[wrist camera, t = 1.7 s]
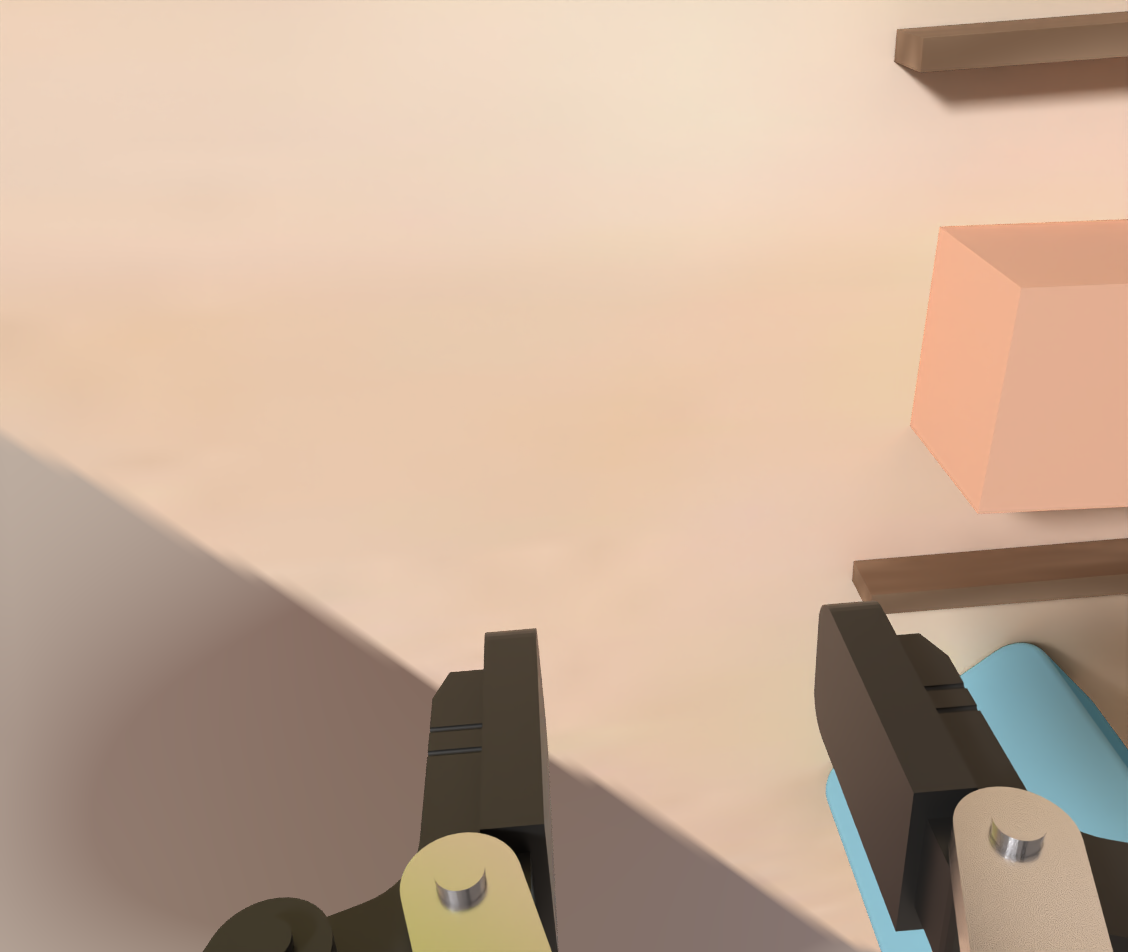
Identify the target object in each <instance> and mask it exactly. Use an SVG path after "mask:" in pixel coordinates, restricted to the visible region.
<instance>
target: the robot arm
mask: <svg viewBox="0 0 1128 952" xmlns="http://www.w3.org/2000/svg"><path fill="white" fill-rule="evenodd" d="M814 697H815V709H816V716H817V721H818V726H819V730H820V733H821V736H822V739H823V742H824V744H825V747H826V749H827V752H828V755H829V757H830V760H831V763H832V765H833V768H834V771H835V773H836V776H837V778H838V781H839V784H840V786H841V789H842V792H843V794H844V797H845V799H846V802H847V805H848V807H849V810H850V813H851V815H852V818H853V821H854V823H855V826H856V828H857V831H858V834H859V836H860V839H861V842H862V844H863V847H864V850H865V852H866V855H867V857H868V860H869V863H870V865H871V868H872V871H873V873H874V876H875V879H876V881H877V884H878V886H879V889H880V892H881V894H882V897H883V900H884V902H885V905H886V908H887V910H888V913H889V915H890V918H891V921H892V923H893V926H894V929H895V931H896V932H898V931H909V930H920V929H924V932H925V934H926V936H927V939H928V941H929V944H930V946H931V949H932V952H1128V843H1127V842H1121V841H1115V840H1110V839H1105V838H1100V837H1096V836H1093V835H1090V834H1087V833H1084V832H1081V831H1080V830H1079V829H1078V827H1077V825H1076V824H1075V822H1074V821H1073V820H1072V819H1071V818H1070V816H1069V815H1068V814H1067V813H1065V812H1064V811H1063V810H1062V809H1061V808H1060V807H1058V806H1057V805H1055V804H1054V803H1052V802H1051V801H1049V800H1047V799H1045V798H1044V797H1042V796H1039V795H1037V794H1034V793H1032V792H1029V791H1027V789H1026V788H1025V786H1024V784H1023V782H1022V781H1021V779H1020V777H1019V776H1018V774H1017V772H1016V771H1015V769H1014V767H1013V765H1012V764H1011V762H1010V760H1009V759H1008V757H1007V755H1006V754H1005V752H1004V750H1003V748H1002V747H1001V745H1000V743H999V742H998V740H997V738H996V737H995V735H994V733H993V731H992V730H991V728H990V726H989V725H988V723H987V721H986V719H985V718H984V716H983V714H982V713H981V711H980V710H979V711H978V710H977V704H976V702H975V701H974V699H973V697H972V696H971V694H970V692H969V691H968V689H967V688H965V687H964V682H963V680H962V679H961V677H960V675H959V674H958V672H957V670H956V668H955V667H954V665H953V663H952V662H951V660H950V658H949V656H948V655H946V654H945V653H944V652H943V651H941V650H940V649H939V648H937V647H936V646H935V645H934V644H932V643H931V642H930V641H928V640H927V639H926V638H925V637H923V636H922V635H921V634H919V633H917V634H906V635H896V633H895V631H894V629H893V627H892V626H891V624H890V622H889V620H888V618H887V616H886V614H885V612H884V611H883V609H882V607H881V605H880V604H879V603H878V602H877V601H863V602H851V603H839V604H827V605H823V606H822V607H821V610H820V614H819V625H818V640H817V656H816V672H815V689H814ZM203 952H558V936H557V917H556V898H555V878H554V858H553V839H552V819H551V800H550V781H549V761H548V745H547V731H546V719H545V708H544V698H543V688H542V678H541V668H540V658H539V648H538V638H537V630H536V628H535V629H523V630H511V631H499V632H487V633H485V643H484V670H472V671H460V672H450V673H449V675H448V676H447V678H446V679H445V681H444V682H443V684H442V685H441V687H440V688H439V690H438V691H437V693H436V694H435V696H434V697H433V700H432V711H431V722H430V734H429V744H428V757H427V767H426V778H425V790H424V800H423V811H422V823H421V833H420V843H419V848H418V852H417V854H416V855H415V856H414V857H413V858H412V859H411V861H410V862H409V863H408V865H407V867H406V869H405V870H404V872H403V875H402V878H401V879H400V880H399V881H398V882H397V883H396V884H395V885H394V886H393V887H391V888H390V889H389V890H387V891H386V892H385V893H383V894H381V895H379V896H378V897H376V898H374V899H372V900H370V901H367V902H365V903H363V904H360V905H358V906H355V907H352V908H350V909H347V910H344V911H342V912H339V913H336V914H334V915H331V916H328V917H326V915H325V914H324V913H323V911H321V910H320V909H319V908H318V907H317V906H315V905H314V904H311V903H310V902H308V901H305V900H301V899H297V898H289V897H288V898H274V899H269V900H265V901H262V902H258V903H256V904H253V905H251V906H249V907H247V908H245V909H243V910H242V911H240V912H238V913H237V914H235V915H234V916H233V917H232V918H230V919H229V920H228V921H226V923H225V924H223V925H222V926H221V927H220V929H218V931H217V932H216V933H215V935H214V936H213V937H212V939H211V940H210V942H209V943H208V945H207V946H206V948H205V949H204V951H203Z"/></svg>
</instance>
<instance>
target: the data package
mask: <svg viewBox="0 0 1128 952" xmlns="http://www.w3.org/2000/svg"><path fill="white" fill-rule="evenodd" d="M960 677H961V679H962V680H963V682H964V687H965V688H967V689H968V691H969V692H970V694H971V696H972V697H973V699H974V701H975V702H976V704H977V710H978V711H979V710H980V711H981V713H982V714H983V716H984V718H985V719H986V721H987V723H988V725H989V726H990V728H991V730H992V731H993V733H994V735H995V737H996V738H997V740H998V742H999V743H1000V745H1001V747H1002V748H1003V750H1004V752H1005V754H1006V755H1007V757H1008V759H1009V760H1010V762H1011V764H1012V765H1013V767H1014V769H1015V771H1016V772H1017V774H1018V776H1019V777H1020V779H1021V781H1022V782H1023V784H1024V786H1025V788H1026V789H1027V791H1029V792H1032V793H1034V794H1037V795H1039V796H1042V797H1044V798H1045V799H1047V800H1049V801H1051V802H1052V803H1054V804H1055V805H1057V806H1058V807H1060V808H1061V809H1062V810H1063V811H1064V812H1065V813H1067V814H1068V815H1069V816H1070V818H1071V819H1072V820H1073V821H1074V822H1075V824H1076V825H1077V827H1078V829H1079V830H1080V831H1081V832H1084V833H1087V834H1090V835H1093V836H1096V837H1100V838H1105V839H1110V840H1115V841H1121V842H1127V843H1128V749H1127V748H1126V746H1125V745H1124V744H1123V742H1122V741H1121V740H1120V738H1119V737H1118V736H1117V734H1116V733H1115V731H1114V730H1113V729H1112V727H1111V726H1110V725H1109V723H1108V722H1107V721H1106V719H1105V718H1104V716H1103V715H1102V714H1101V712H1100V711H1099V710H1098V708H1097V707H1096V705H1095V704H1094V703H1093V702H1092V700H1091V699H1090V698H1089V697H1088V696H1087V695H1086V694H1085V693H1084V692H1083V691H1082V690H1081V689H1080V688H1079V687H1078V686H1077V685H1076V684H1075V683H1074V682H1073V681H1072V680H1071V679H1070V678H1069V677H1068V676H1067V675H1066V674H1065V673H1064V672H1063V671H1062V669H1061V668H1060V667H1059V666H1058V665H1057V664H1056V663H1055V662H1054V661H1053V660H1052V659H1051V658H1050V657H1049V656H1048V655H1047V654H1046V653H1045V652H1044V651H1043V650H1042V649H1040V648H1039V647H1037V646H1035V645H1032V644H1029V643H1014V644H1010V645H1007V646H1004V647H1002V648H1000V649H998V650H997V651H995V652H994V653H992V654H991V655H989V656H988V657H987V658H985V659H984V660H982V661H981V662H979V663H978V664H976V665H975V666H974V667H972V668H971V669H969V670H968V671H966V672H965V673H963V674H962V675H961V676H960ZM826 797H827V801H828V804H829V807H830V809H831V812H832V815H833V818H834V821H835V823H836V826H837V829H838V832H839V835H840V837H841V840H842V843H843V846H844V849H845V851H846V854H847V857H848V860H849V863H850V865H851V868H852V871H853V874H854V877H855V879H856V882H857V885H858V888H859V891H860V893H861V896H862V899H863V902H864V904H865V907H866V910H867V913H868V916H869V918H870V921H871V924H872V927H873V930H874V932H875V935H876V938H877V941H878V944H879V946H880V949H881V952H932V949H931V946H930V944H929V941H928V939H927V936H926V934H925V932H924V929H920V930H909V931H898V932H896V931H895V929H894V926H893V923H892V921H891V918H890V915H889V913H888V910H887V908H886V905H885V902H884V900H883V897H882V894H881V892H880V889H879V886H878V884H877V881H876V879H875V876H874V873H873V871H872V868H871V865H870V863H869V860H868V857H867V855H866V852H865V850H864V847H863V844H862V842H861V839H860V836H859V834H858V831H857V828H856V826H855V823H854V821H853V818H852V815H851V813H850V810H849V807H848V805H847V802H846V799H845V797H844V794H843V792H842V789H841V786H840V784H839V781H838V778H837V776H836V773H835V771H834V768H833V769H832V771H831V772H830V774H829V777H828V780H827V784H826Z"/></svg>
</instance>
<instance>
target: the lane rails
mask: <svg viewBox="0 0 1128 952" xmlns="http://www.w3.org/2000/svg"><path fill="white" fill-rule="evenodd" d="M1126 56H1128V12H1115V13H1102V14H1089V15H1077V16H1064V17H1051V18H1038V19H1025V20H1012V21H999V22H986V23H974V24H961V25H948V26H935V27H922V28H909V29H897V35H896V48H895V60H894V62H896V63H898V64H901V65H903V66H906V67H908V68H911V69H913V70H915V71H918V72H920V73H922V72H934V71H947V70H960V69H973V68H985V67H998V66H1011V65H1024V64H1037V63H1049V62H1062V61H1075V60H1088V59H1101V58H1113V57H1126ZM852 581H853V583H854V585H855V587H856V589H857V591H858V593H859V595H860V597H861V599H862V601H877V602H878V603H879V604H880V605H881V607H882V609H883V611H884V612H885V614H891V613H903V612H915V611H927V610H939V609H951V608H963V607H974V606H986V605H998V604H1010V603H1022V602H1034V601H1046V600H1058V599H1069V598H1081V597H1093V596H1105V595H1117V594H1128V538H1126V539H1114V540H1102V541H1090V542H1078V543H1066V544H1054V545H1042V546H1030V547H1018V548H1006V549H994V550H982V551H970V552H958V553H947V554H935V555H923V556H911V557H899V558H887V559H875V560H863V561H854V565H853V578H852Z"/></svg>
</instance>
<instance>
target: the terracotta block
mask: <svg viewBox="0 0 1128 952" xmlns="http://www.w3.org/2000/svg"><path fill="white" fill-rule="evenodd" d="M910 426H911V428H912V429H913V430H914V432H915V433H916V434H917V435H918V437H919V438H920V439H921V441H922V442H923V443H924V444H925V446H926V447H927V448H928V450H929V451H930V452H931V454H932V455H933V456H934V457H935V459H936V460H937V461H938V463H939V464H940V465H941V467H942V468H943V469H944V470H945V472H946V473H947V474H948V476H949V477H950V478H951V479H952V481H953V482H954V483H955V485H956V486H957V487H958V489H959V490H960V491H961V492H962V494H963V495H964V496H965V498H966V499H967V500H968V502H969V503H970V504H971V505H972V507H973V508H974V509H975V511H976V512H977V513H978V514H986V513H1007V512H1028V511H1048V510H1069V509H1090V508H1111V507H1128V219H1122V220H1097V221H1072V222H1046V223H1021V224H996V225H971V226H945V227H940V229H939V235H938V242H937V249H936V255H935V262H934V269H933V276H932V282H931V289H930V296H929V302H928V309H927V316H926V323H925V329H924V336H923V343H922V349H921V356H920V363H919V370H918V376H917V383H916V390H915V396H914V403H913V410H912V417H911V423H910Z"/></svg>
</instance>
